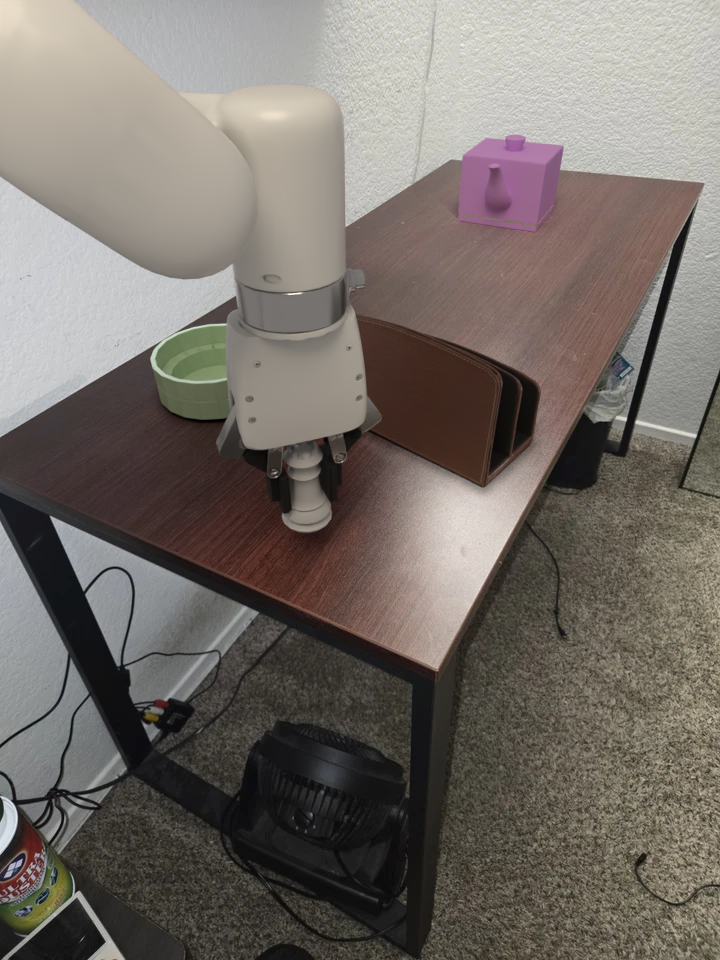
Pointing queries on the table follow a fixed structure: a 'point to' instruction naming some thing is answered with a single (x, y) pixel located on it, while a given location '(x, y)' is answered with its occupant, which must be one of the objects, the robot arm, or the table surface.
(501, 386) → the letter holder
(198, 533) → the table surface
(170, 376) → the bowl
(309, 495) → the rook chess piece
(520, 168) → the teapot
